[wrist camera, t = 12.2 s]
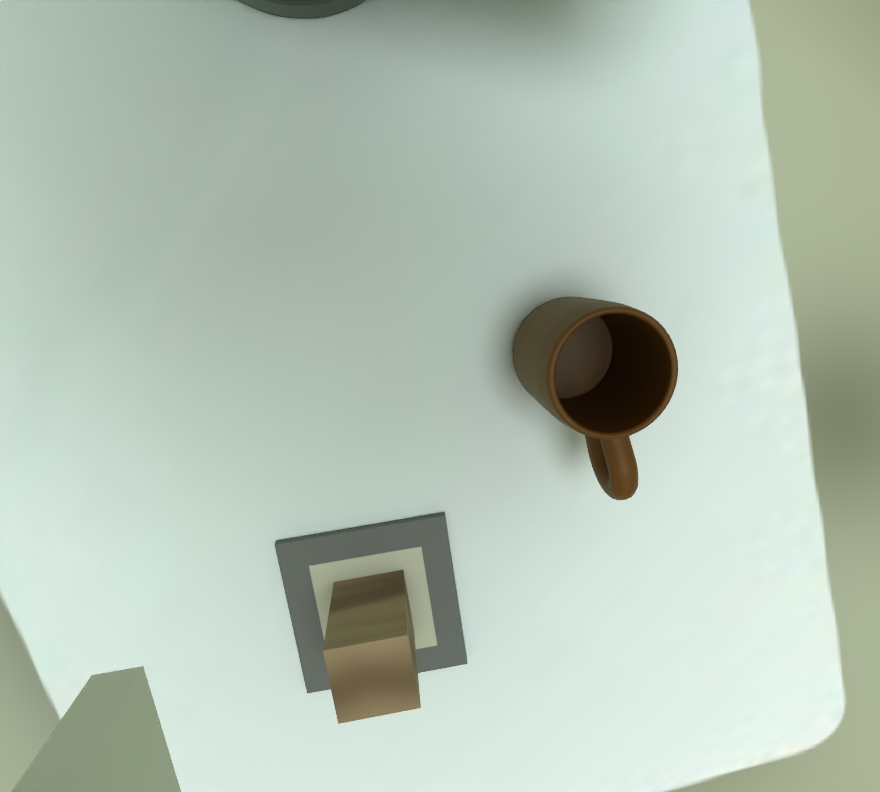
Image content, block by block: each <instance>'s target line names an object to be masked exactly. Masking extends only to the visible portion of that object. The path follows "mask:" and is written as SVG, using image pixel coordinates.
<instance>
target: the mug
mask: <svg viewBox="0 0 880 792" xmlns="http://www.w3.org/2000/svg"><path fill="white" fill-rule="evenodd" d="M513 359H514V366H515V370H516V373H517V376H518V378H519V380H520V382H521V383H522V385H523V386H524V388H525V389H526V390H527V391H528V392H529V393H530V394H531V395H532V396H533V397H534V398H535V399H536V400H537V401H538V402H539V403H540V404H541V405H542V406H543V407H544V408H545V409H547V410H548V411H549V412H550V413H551V414H552V415H553V416H554V417H556V418H557V419H558V420H560V421H561V422H562V423H564V424H565V425H567V426H569V427H570V428H572V429H574V430H576V431H578V432H579V433H581V434H584V435H585V438H586V442H587V448H588V452H589V457H590V460H591V464H592V467H593V470H594V472H595V475H596V477H597V480H598V482H599V484H600V485H601V487H602V489H603V490H604V491H605V493H607V494H608V495H609V496H610V497H611V498H613V499H616V500H625V499H628V498H630V497H632V496H633V494H634V493H635V491H636V489H637V486H638V469H637V464H636V459H635V456H634V452H633V449H632V445H631V442H630V438H629V435H632V434H634V433H636V432H638V431H640V430H642V429H644V428H645V427H647V426H648V425H649V424H651V423H652V422H653V421H654V420H655V419H656V418H657V417H658V416H659V415H660V414H661V413H662V412H663V410H664V409H665V408H666V406H667V405H668V403H669V401H670V399H671V397H672V395H673V392H674V389H675V386H676V382H677V376H678V361H677V355H676V350H675V347H674V344H673V342H672V340H671V338H670V336H669V334H668V333H667V332H666V330H665V329H664V328H663V326H662V325H661V324H660V323H659V322H658V321H656V320H655V319H654V318H653V317H651V316H649V315H648V314H646V313H644V312H642V311H639V310H637V309H634V308H632V307H629V306H627V305H623V304H619V303H615V302H609V301H603V300H597V299H588V298H581V297H563V298H558V299H554V300H551V301H549V302H547V303H544V304H543V305H541V306H539V307H538V308H537V309H535V310H534V311H533V312H532V313H531V314H530V315H529V316H528V317H527V318H526V319H525V321H524V322H523V323H522V325H521V327H520V329H519V331H518V333H517V336H516V339H515V343H514V349H513Z"/></svg>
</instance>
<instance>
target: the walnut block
mask: <svg viewBox="0 0 880 792" xmlns="http://www.w3.org/2000/svg"><path fill="white" fill-rule="evenodd" d="M323 654H324V658H325V663H326V668H327V672H328V677H329V682H330V686H331V691H332V696H333V700H334V705H335V710H336V714H337V719H338V724H339V723H344V722H349V721H355V720H360V719H365V718H370V717H375V716H381V715H386V714H391V713H396V712H401V711H407V710H412V709H417V708H421V706H420V694H419V682H418V670H417V658H416V646H415V634H414V627H413V621H412V616H411V610H410V604H409V598H408V593H407V587H406V581H405V576H404V570H398V571H392V572H387V573H381V574H376V575H370V576H364V577H359V578H353V579H348V580H342V581H337V582H334V584H333V590H332V596H331V603H330V609H329V615H328V622H327V628H326V634H325V640H324V647H323Z"/></svg>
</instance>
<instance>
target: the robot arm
mask: <svg viewBox="0 0 880 792" xmlns="http://www.w3.org/2000/svg"><path fill="white" fill-rule="evenodd" d="M240 1H242V2H244V3H245V4H247V5H249V6H252V7H254V8H256V9H259V10H261V11H264V12H267V13H271V14H275V15H279V16H284V17H291V18H317V17H324V16H329V15H333V14H337V13H340V12H343V11H346V10H348V9H350V8H353V7H355V6H357V5H358V4H360V3H362V2H364V1H365V0H240ZM12 792H181V790H180V787H179V784H178V780H177V777H176V774H175V770H174V767H173V764H172V760H171V757H170V754H169V750H168V747H167V744H166V741H165V737H164V734H163V731H162V727H161V724H160V721H159V717H158V714H157V711H156V707H155V704H154V701H153V698H152V694H151V691H150V688H149V684H148V681H147V678H146V674H145V671H144V668H143V667H137V668H131V669H125V670H120V671H114V672H108V673H102V674H97V675H92V676H91V677H90V679H89V680H88V682H87V683H86V685H85V686H84V687H83V689H82V690H81V692H80V693H79V695H78V696H77V698H76V699H75V700H74V702H73V703H72V705H71V706H70V708H69V709H68V711H67V712H66V714H65V715H64V716H63V718H62V719H61V721H60V722H59V724H58V725H57V727H56V728H55V729H54V731H53V732H52V734H51V735H50V737H49V738H48V740H47V741H46V743H45V744H44V745H43V747H42V748H41V750H40V751H39V753H38V754H37V756H36V757H35V759H34V760H33V762H32V763H31V764H30V766H29V767H28V769H27V770H26V772H25V773H24V775H23V776H22V777H21V779H20V780H19V782H18V783H17V785H16V786H15V788H14V789H13V791H12Z"/></svg>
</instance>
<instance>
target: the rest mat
mask: <svg viewBox="0 0 880 792" xmlns="http://www.w3.org/2000/svg"><path fill="white" fill-rule="evenodd" d="M275 548H276V552H277V557H278V562H279V566H280V571H281V575H282V580H283V584H284V589H285V593H286V598H287V603H288V607H289V612H290V616H291V621H292V625H293V630H294V635H295V639H296V644H297V648H298V653H299V657H300V662H301V667H302V671H303V676H304V680H305V685H306V689H307V693H311V692H317V691H322V690H328V689H331V686H330V682H329V677H328V672H327V668H326V663H325V658H324V654H323V647H324V640H325V634H326V628H327V622H328V615H329V609H330V603H331V596H332V590H333V584H334V582H337V581H342V580H348V579H353V578H359V577H364V576H370V575H376V574H381V573H387V572H392V571H398V570H404V576H405V581H406V587H407V593H408V598H409V604H410V610H411V616H412V621H413V627H414V634H415V646H416V658H417V670H418V673H420V672H425V671H430V670H436V669H441V668H447V667H452V666H457V665H463V664H467V658H466V651H465V644H464V638H463V631H462V624H461V618H460V611H459V605H458V598H457V591H456V585H455V578H454V572H453V565H452V558H451V552H450V545H449V539H448V532H447V525H446V519H445V513H444V512H443V513H437V514H431V515H425V516H419V517H413V518H407V519H402V520H396V521H390V522H384V523H378V524H372V525H366V526H361V527H355V528H349V529H343V530H337V531H331V532H325V533H319V534H314V535H308V536H302V537H296V538H290V539H284V540H278V541H276V543H275Z"/></svg>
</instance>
